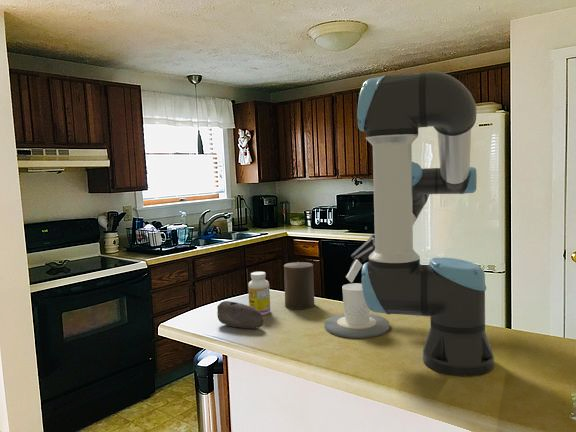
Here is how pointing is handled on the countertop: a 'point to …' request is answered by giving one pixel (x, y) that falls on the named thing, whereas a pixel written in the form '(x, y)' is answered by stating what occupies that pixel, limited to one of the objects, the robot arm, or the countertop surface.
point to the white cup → (355, 304)
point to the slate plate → (357, 327)
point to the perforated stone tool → (239, 315)
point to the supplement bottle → (259, 293)
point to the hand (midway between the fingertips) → (366, 283)
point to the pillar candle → (299, 285)
